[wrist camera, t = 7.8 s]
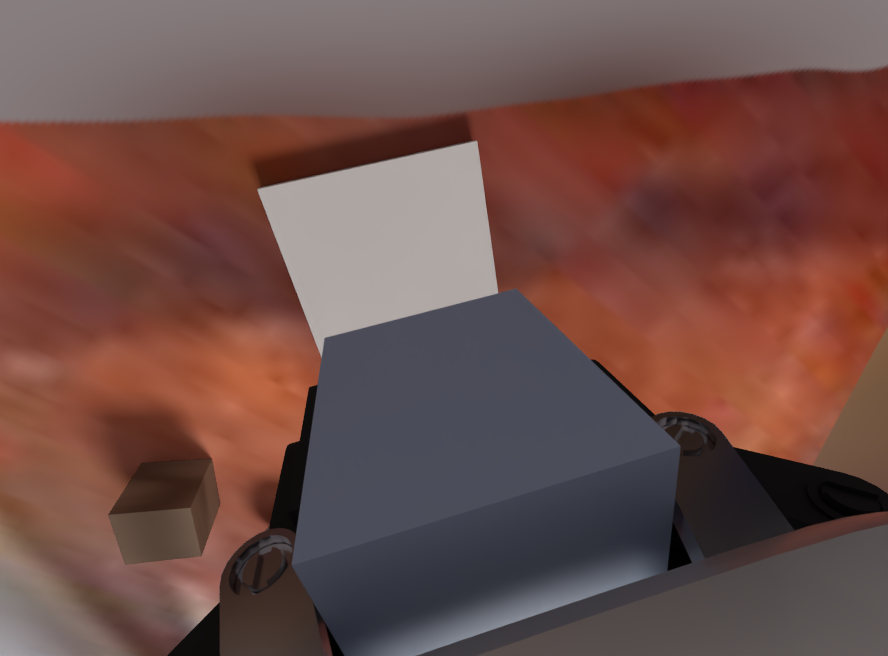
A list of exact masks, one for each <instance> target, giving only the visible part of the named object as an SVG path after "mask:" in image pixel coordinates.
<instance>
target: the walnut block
mask: <svg viewBox="0 0 888 656" xmlns="http://www.w3.org/2000/svg"><path fill="white" fill-rule="evenodd" d="M219 506H220V499H219V494H218V488H217V483H216V478H215V472H214V467H213V461H212V459H197V460H182V461H167V462H151V463H141V465H140V466H139V468H138V470H137V471H136V473H135V474H134V476H133V477H132V479H131V480H130V482H129V483H128V485H127V487H126V488H125V490H124V491H123V493H122V494H121V496H120V497H119V499H118V500H117V502H116V504H115V505H114V507H113V508H112V510H111V511H110V513H109V514H108V516H109V519H110V522H111V525H112V528H113V531H114V533H115V536H116V539H117V542H118V545H119V548H120V551H121V554H122V557H123V559H124V562H125V565H126V564H135V563H144V562H153V561H162V560H171V559H180V558H189V557H198V556H202V553H203V550H204V548H205V545H206V542H207V539H208V537H209V534H210V531H211V528H212V526H213V523H214V520H215V517H216V514H217V512H218V509H219Z"/></svg>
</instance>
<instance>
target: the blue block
mask: <svg viewBox="0 0 888 656" xmlns="http://www.w3.org/2000/svg"><path fill="white" fill-rule="evenodd" d="M680 448H681V446H680V445H679V444H678V443H677V442H676V441H675V440H674V439H673V438H672V437H671V436H670V435H669V434H668V433H667V432H665V431H664V430H663V429H662V428H661V427H660V426H659V425H658V424H657V423H656V422H655V421H654V420H653V419H652V418H651V417H650V416H649V415H648V414H647V413H646V412H645V411H644V410H642V409H641V408H640V407H639V406H638V405H637V404H636V403H635V402H634V401H633V400H632V399H631V398H630V397H629V396H628V395H627V394H626V393H625V392H624V391H623V390H622V389H620V388H619V387H618V386H617V385H616V384H615V383H614V382H613V381H612V380H611V379H610V378H609V377H608V376H607V375H606V374H605V373H604V372H603V371H602V370H601V369H600V368H599V367H597V366H596V365H595V364H594V363H593V362H592V361H591V360H590V359H589V358H588V357H587V356H586V355H585V354H584V353H583V352H582V351H581V350H580V349H579V348H578V347H577V346H576V345H574V344H573V343H572V342H571V341H570V340H569V339H568V338H567V337H566V336H565V335H564V334H563V333H562V332H561V331H560V330H559V329H558V328H557V327H556V326H555V325H554V324H553V323H551V322H550V321H549V320H548V319H547V318H546V317H545V316H544V315H543V314H542V313H541V312H540V311H539V310H538V309H537V308H536V307H535V306H534V305H533V304H532V303H531V302H530V301H528V300H527V299H526V298H525V297H524V296H523V295H522V294H521V293H520V292H519V291H518V290H517V289H513V290H509V291H505V292H501V293H497V294H494V295H490V296H486V297H482V298H478V299H474V300H470V301H466V302H462V303H458V304H455V305H451V306H447V307H443V308H439V309H435V310H431V311H427V312H423V313H420V314H416V315H412V316H408V317H404V318H400V319H396V320H392V321H388V322H384V323H381V324H377V325H373V326H369V327H365V328H361V329H357V330H353V331H349V332H346V333H342V334H338V335H334V336H330V337H326V338H325V339H324V346H323V352H322V359H321V366H320V373H319V380H318V387H317V394H316V401H315V407H314V414H313V421H312V428H311V435H310V442H309V449H308V456H307V462H306V469H305V476H304V483H303V490H302V497H301V504H300V511H299V517H298V524H297V531H296V538H295V545H294V552H293V559H292V567H293V569H294V570H295V572H296V574H297V575H298V577H299V579H300V581H301V582H302V584H303V586H304V587H305V589H306V591H307V593H308V594H309V596H310V598H311V599H312V601H313V603H314V605H315V606H316V608H317V610H318V611H319V613H320V615H321V616H322V618H323V620H324V622H325V623H326V625H327V627H328V628H329V630H330V632H331V634H332V635H333V637H334V639H335V640H336V642H337V644H338V646H339V647H340V649H341V651H342V652H343V654H344V656H417V655H420V654H423V653H425V652H428V651H431V650H434V649H437V648H440V647H443V646H446V645H449V644H452V643H455V642H457V641H460V640H463V639H466V638H469V637H472V636H475V635H478V634H481V633H484V632H487V631H490V630H493V629H496V628H499V627H502V626H505V625H508V624H511V623H514V622H517V621H520V620H523V619H526V618H529V617H531V616H534V615H537V614H540V613H543V612H546V611H549V610H552V609H555V608H558V607H561V606H564V605H567V604H570V603H573V602H576V601H579V600H582V599H585V598H588V597H591V596H594V595H597V594H600V593H603V592H606V591H609V590H612V589H615V588H618V587H621V586H624V585H627V584H630V583H633V582H636V581H639V580H642V579H645V578H648V577H651V576H654V575H657V574H660V573H663V572H666V571H667V568H668V559H669V550H670V540H671V531H672V522H673V513H674V503H675V494H676V485H677V476H678V467H679V457H680Z"/></svg>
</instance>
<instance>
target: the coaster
mask: <svg viewBox="0 0 888 656" xmlns="http://www.w3.org/2000/svg"><path fill="white" fill-rule="evenodd" d="M257 190H258V193H259V195H260V198H261V201H262V203H263V206H264V209H265V211H266V214H267V216H268V219H269V222H270V224H271V227H272V229H273V232H274V235H275V237H276V240H277V243H278V245H279V248H280V250H281V253H282V256H283V258H284V261H285V263H286V266H287V269H288V271H289V274H290V276H291V279H292V282H293V284H294V287H295V290H296V292H297V295H298V297H299V300H300V303H301V305H302V308H303V310H304V313H305V316H306V318H307V321H308V324H309V326H310V329H311V331H312V334H313V337H314V339H315V342H316V344H317V347H318V350H319V352H320V355H321V358H322V352H323V346H324V339H325V338H326V337H330V336H334V335H338V334H342V333H346V332H349V331H353V330H357V329H361V328H365V327H369V326H373V325H377V324H381V323H384V322H388V321H392V320H396V319H400V318H404V317H408V316H412V315H416V314H420V313H423V312H427V311H431V310H435V309H439V308H443V307H447V306H451V305H455V304H458V303H462V302H466V301H470V300H474V299H478V298H482V297H486V296H490V295H494V294H497V293H498V289H497V282H496V274H495V267H494V260H493V253H492V245H491V238H490V231H489V223H488V216H487V209H486V202H485V194H484V187H483V180H482V173H481V165H480V158H479V151H478V144H477V141H468V142H464V143H459V144H455V145H450V146H446V147H441V148H437V149H432V150H428V151H423V152H418V153H414V154H409V155H405V156H400V157H396V158H391V159H387V160H382V161H377V162H373V163H368V164H364V165H359V166H355V167H350V168H346V169H341V170H337V171H332V172H327V173H323V174H318V175H314V176H309V177H305V178H300V179H296V180H291V181H287V182H282V183H277V184H273V185H268V186H264V187H260V188H259V189H257Z"/></svg>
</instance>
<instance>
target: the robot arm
mask: <svg viewBox="0 0 888 656" xmlns="http://www.w3.org/2000/svg"><path fill="white" fill-rule="evenodd" d="M591 361H592V362H593V363H594V364H595V365H596V366H597V367H599V368H600V369H601V370H602V371H603V372H604V373H605V374H606V375H607V376H608V377H609V378H610V379H611V380H612V381H613V382H614V383H615V384H616V385H617V386H618V387H619V388H620V389H622V390H623V391H624V392H625V393H626V394H627V395H628V396H629V397H630V398H631V399H632V400H633V401H634V402H635V403H636V404H637V405H638V406H639V407H640V408H641V409H642V410H644V411H645V412H646V413H647V414H648V415H649V416H650V417H651V418H652V419H653V420H654V421H655V422H656V423H657V424H658V425H659V426H660V427H661V428H662V429H663V430H664V431H665V432H667V433H668V434H669V435H670V436H671V437H672V438H673V439H674V440H675V441H676V442H677V443H678V444H679V445H680V446H681V448H680V457H679V467H678V476H677V485H676V494H675V503H674V513H673V522H672V531H671V540H670V550H669V559H668V568H667V571H666V572H663V573H660V574H657V575H654V576H651V577H648V578H645V579H642V580H639V581H636V582H633V583H630V584H627V585H624V586H621V587H618V588H615V589H612V590H609V591H606V592H603V593H600V594H597V595H594V596H591V597H588V598H585V599H582V600H579V601H576V602H573V603H570V604H567V605H564V606H561V607H558V608H555V609H552V610H549V611H546V612H543V613H540V614H537V615H534V616H531V617H529V618H526V619H523V620H520V621H517V622H514V623H511V624H508V625H505V626H502V627H499V628H496V629H493V630H490V631H487V632H484V633H481V634H478V635H475V636H472V637H469V638H466V639H463V640H460V641H457V642H455V643H452V644H449V645H446V646H443V647H440V648H437V649H434V650H431V651H428V652H425V653H423V654H420V655H417V656H888V494H887V493H886V492H884V491H883V490H881V489H880V488H878V487H877V486H875V485H873V484H871V483H869V482H867V481H865V480H863V479H860V478H858V477H854V476H851V475H848V474H845V473H841V472H837V471H833V470H829V469H824V468H820V467H816V466H812V465H807V464H803V463H799V462H795V461H790V460H786V459H782V458H777V457H773V456H769V455H765V454H760V453H756V452H752V451H748V450H743V449H739V448H735V447H733V446H732V445H731V444H730V442H729V441H728V439H727V438H726V437H725V435H724V434H723V433H722V432H721V431H720V430H719V429H718V428H717V427H716V426H715V425H714V424H713V423H711V422H709V421H708V420H706V419H705V418H702V417H699V416H697V415H694V414H690V413H684V412H665V413H659V414H657V415H654V414H653V413H652V412H651V411H650V410H649V409H648V408H647V407H646V406H645V405H644V404H643V403H642V402H641V401H640V400H638V399H637V398H636V397H635V396H634V395H633V394H632V393H631V392H630V391H629V390H628V389H627V388H626V387H625V386H624V385H622V384H621V383H620V382H619V381H618V380H617V379H616V378H615V377H614V376H613V375H612V374H611V373H610V372H609V371H608V370H606V369H605V368H604V367H603V366H602V365H601V364H600V363H599V362H598V361H596V360H591ZM317 387H318V385H316V386H312V387H309V391H308V397H307V402H306V408H305V414H304V420H303V425H302V431H301V437H300V441H298V442H294V443H291V444H289V445H288V446H287V448H286V451H285V456H284V461H283V465H282V470H281V475H280V479H279V484H278V489H277V493H276V498H275V503H274V507H273V512H272V517H271V521H270V526H269V530H267V531H264V532H262V533H259V534H257V535H256V536H254V537H252V538H251V539H249V540H248V541H246V542H245V543H244V544H243V545H242V546H241V547H240V548H239V549H238V550H237V551H236V552H235V553H234V554H233V556H232V557H231V558H230V560H229V561H228V562H227V564H226V566H225V568H224V570H223V573H222V575H221V581H220V602H219V603H218V604H217V605H216V606H215V607H214V608H213V609H212V611H211V612H210V613H209V614H208V615H207V616H206V617H205V618H204V619H203V620H202V621H201V622H200V623H199V624H198V625H197V626H196V627H195V628H194V629H193V630H192V631H191V632H190V633H189V634H188V635H187V636H186V637H185V638H184V639H183V640H182V641H181V642H180V643H179V644H178V645H177V646H176V647H175V648H174V649H173V650H172V651H171V652H170V653H169V654H168V655H167V656H344V654H343V652H342V651H341V649H340V647H339V646H338V644H337V642H336V640H335V639H334V637H333V635H332V634H331V632H330V630H329V628H328V627H327V625H326V623H325V622H324V620H323V618H322V616H321V615H320V613H319V611H318V610H317V608H316V606H315V605H314V603H313V601H312V599H311V598H310V596H309V594H308V593H307V591H306V589H305V587H304V586H303V584H302V582H301V581H300V579H299V577H298V575H297V574H296V572H295V570H294V569H293V567H292V559H293V552H294V545H295V538H296V531H297V524H298V517H299V511H300V504H301V497H302V490H303V483H304V476H305V469H306V462H307V456H308V449H309V442H310V435H311V428H312V421H313V414H314V407H315V401H316V394H317Z"/></svg>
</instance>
